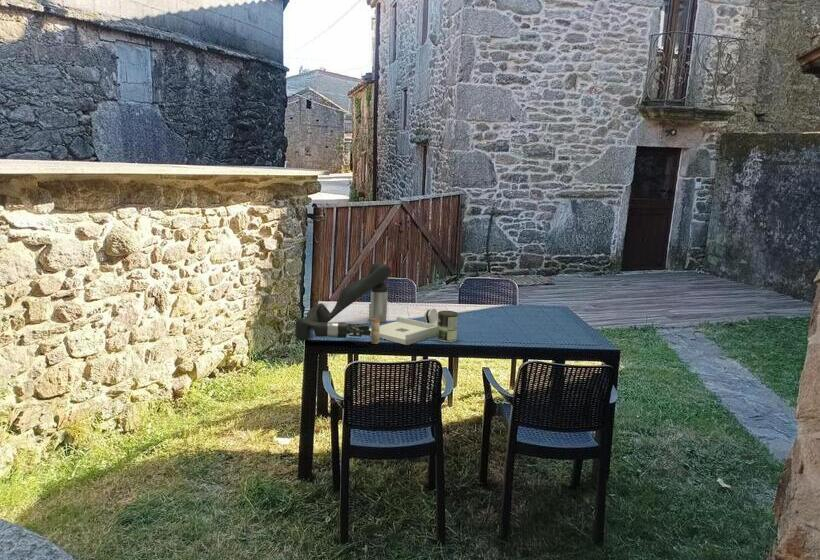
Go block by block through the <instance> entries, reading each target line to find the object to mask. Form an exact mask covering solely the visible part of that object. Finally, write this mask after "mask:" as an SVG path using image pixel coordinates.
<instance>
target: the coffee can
mask: <svg viewBox="0 0 820 560" xmlns="http://www.w3.org/2000/svg"><path fill="white" fill-rule="evenodd" d="M437 313H438V327H437V336H436V340H437V341H440V342H442V341H443V343H454V342H456V341H457V335H458V334H457V333H458V332H457V331H458V321H459V320H458V317H459V313H458V312H457V311H454V310H440V311H437Z"/></svg>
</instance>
